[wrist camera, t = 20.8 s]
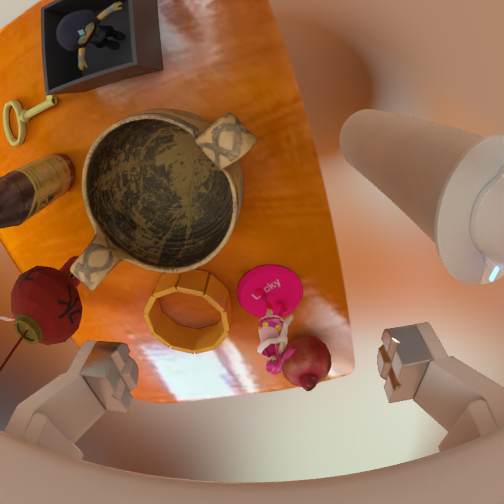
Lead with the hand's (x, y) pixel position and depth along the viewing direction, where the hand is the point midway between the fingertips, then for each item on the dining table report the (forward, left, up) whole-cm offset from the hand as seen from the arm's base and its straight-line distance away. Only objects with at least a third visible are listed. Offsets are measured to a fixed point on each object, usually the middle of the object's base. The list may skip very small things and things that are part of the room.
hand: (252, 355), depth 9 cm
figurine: (0, +20, -31) cm, 37 cm away
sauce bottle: (+28, -2, -31) cm, 42 cm away
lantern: (+25, +10, -31) cm, 41 cm away
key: (+32, -12, -31) cm, 46 cm away
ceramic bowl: (+10, +1, -31) cm, 33 cm away
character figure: (+16, -18, -31) cm, 39 cm away
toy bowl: (+12, +21, -31) cm, 39 cm away
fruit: (-5, +31, -31) cm, 44 cm away
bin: (+16, -18, -31) cm, 39 cm away
